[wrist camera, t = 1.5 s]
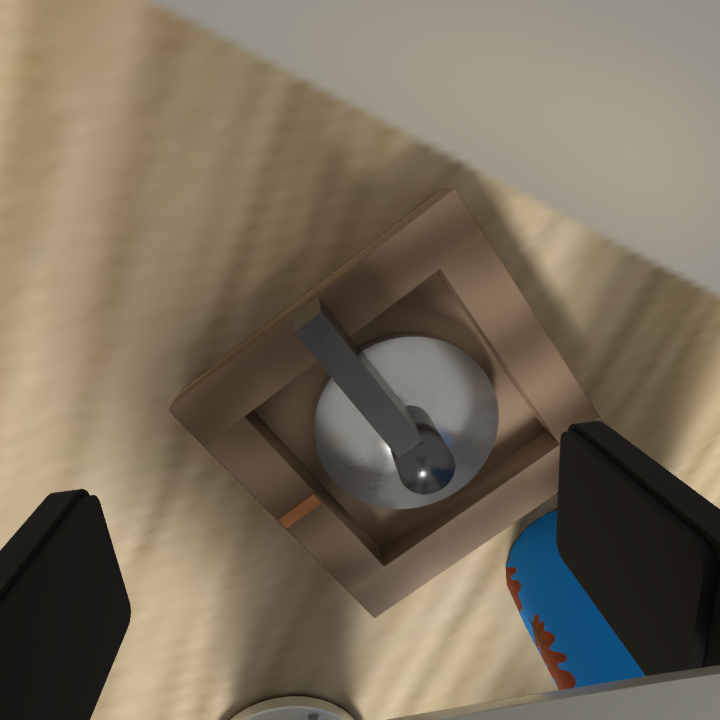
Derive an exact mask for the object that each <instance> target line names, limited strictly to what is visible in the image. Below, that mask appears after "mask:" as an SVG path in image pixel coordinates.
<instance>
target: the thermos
mask: <svg viewBox="0 0 720 720" xmlns="http://www.w3.org/2000/svg"><path fill="white" fill-rule="evenodd" d="M556 530H557V510H555V511H553V512H550V513H547V514H545V515H544V516H542V517H541V518H540V519H538V520H537V521H535V522H534V523H533V524H531V525H530V526H528V527H527V528H526V529H525V531H524V532H523V533H522V534H521V536H520V537H519V538H518V540H517V541H516V542H515V543H514V545H513V546H512V549H511V552H510V555H509V558H508V561H507V564H506V578H507V586H508V588H509V590H510V593H511V595H512V597H513V599H514V602H515V604H516V606H517V608H518V610H519V613H520V615H521V617H522V619H523V622H524V624H525V626H526V628H527V630H528V632H529V633H530V635H531V637H532V639H533V641H534V643H535V645H536V647H537V649H538V651H539V652H540V654H541V656H542V658H543V660H544V662H545V664H546V666H547V668H548V670H549V671H550V673H551V675H552V677H553V679H554V681H555V683H556V685H557V687H558V689H559V690H565V689H571V688H577V687H583V686H589V685H595V684H601V683H607V682H613V681H619V680H625V679H631V678H637V677H643V676H645V674H644V673H643V671H642V670H641V669H640V667H639V666H638V664H637V663H636V662H635V660H634V659H633V657H632V656H631V655H630V653H629V652H628V650H627V649H626V648H625V646H624V645H623V644H622V642H621V641H620V639H619V638H618V637H617V635H616V634H615V632H614V631H613V630H612V628H611V627H610V625H609V624H608V623H607V621H606V620H605V618H604V617H603V616H602V614H601V613H600V611H599V610H598V609H597V607H596V606H595V604H594V603H593V602H592V600H591V599H590V597H589V596H588V595H587V593H586V592H585V590H584V589H583V588H582V586H581V585H580V584H579V582H578V581H577V579H576V578H575V577H574V575H573V574H572V572H571V571H570V570H569V568H568V567H567V565H566V564H565V563H564V561H563V560H562V558H561V556H560V554H559V552H558V548H557V544H556Z"/></svg>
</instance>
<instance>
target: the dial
mask: <svg viewBox="0 0 720 720" xmlns="http://www.w3.org/2000/svg"><path fill="white" fill-rule="evenodd" d="M294 333H295V335H296V336H297V337H298V338H299V339H300V341H301V342H302V343H303V344H304V345H305V347H306V348H307V349H308V350H309V351H310V353H311V354H312V355H313V356H314V357H315V359H316V360H317V361H318V362H319V363H320V365H321V366H322V367H323V368H324V369H325V371H326V372H327V373H328V374H329V375H328V376H327V378H326V379H325V381H324V383H323V385H322V387H321V389H320V391H319V394H318V397H317V400H316V405H315V410H314V422H313V424H314V439H315V445H316V449H317V453H318V456H319V458H320V461H321V464H322V465H323V467H324V469H325V470H326V472H327V474H328V475H329V476H330V477H331V479H332V480H333V481H334V482H335V483H336V484H337V485H338V486H339V487H340V488H341V489H342V490H343V491H345V492H346V493H348V494H349V495H350V496H352V497H354V498H356V499H358V500H360V501H362V502H364V503H367V504H370V505H373V506H377V507H381V508H388V509H410V508H417V507H422V506H426V505H429V504H432V503H435V502H438V501H440V500H442V499H444V498H446V497H448V496H450V495H452V494H453V493H455V492H457V491H458V490H459V489H461V488H462V487H463V486H465V485H466V484H467V483H468V482H469V481H470V480H471V479H472V478H473V477H474V476H475V475H476V474H477V473H478V471H479V470H480V469H481V468H482V466H483V465H484V463H485V462H486V460H487V458H488V457H489V454H490V452H491V450H492V448H493V445H494V442H495V439H496V436H497V430H498V423H499V410H498V402H497V398H496V394H495V391H494V388H493V386H492V384H491V381H490V380H489V378H488V376H487V375H486V373H485V372H484V370H483V369H482V368H481V367H480V365H479V364H478V363H477V362H476V361H475V360H474V359H472V358H471V357H470V356H469V355H468V354H467V353H466V352H465V351H464V350H462V349H461V348H459V347H458V346H457V345H455V344H453V343H451V342H449V341H447V340H445V339H443V338H440V337H437V336H434V335H430V334H425V333H418V332H402V333H393V334H388V335H384V336H381V337H378V338H375V339H372V340H370V341H368V342H366V343H364V344H362V345H360V346H357V344H356V343H355V342H354V341H353V339H352V338H351V337H350V335H349V334H348V333H347V332H346V330H345V329H344V328H343V327H342V325H341V324H340V323H339V322H338V320H337V319H336V318H335V316H334V315H333V314H332V313H331V311H330V310H329V309H328V308H327V306H326V305H325V304H324V303H323V301H322V300H321V299H320V298H319V296H318V297H317V298H316V299H314V300H313V301H312V302H310V303H309V304H308V305H306V306H305V307H304V308H303V309H301V310H300V311H299V312H297V313H296V314H295V322H294Z"/></svg>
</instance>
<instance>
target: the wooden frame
mask: <svg viewBox="0 0 720 720" xmlns="http://www.w3.org/2000/svg"><path fill="white" fill-rule="evenodd" d="M318 296H319V298H320V299H321V300H322V301H323V303H324V304H325V305H326V306H327V308H328V309H329V310H330V311H331V313H332V314H333V315H334V316H335V318H336V319H337V320H338V322H339V323H340V324H341V325H342V327H343V328H344V329H345V330H346V332H347V333H348V334H349V335H350V337H351V338H352V339H353V341H354V342H355V343H356V344H357V346H360V345H362V344H364V343H366V342H368V341H370V340H372V339H375V338H378V337H381V336H384V335H388V334H393V333H402V332H418V333H425V334H430V335H434V336H437V337H440V338H443V339H445V340H447V341H449V342H451V343H453V344H455V345H457V346H458V347H459V348H461V349H462V350H464V351H465V352H466V353H467V354H468V355H469V356H470V357H471V358H472V359H474V360H475V361H476V362H477V363H478V364H479V365H480V367H481V368H482V369H483V370H484V372H485V373H486V375H487V376H488V378H489V380H490V381H491V384H492V386H493V388H494V391H495V394H496V398H497V402H498V410H499V423H498V430H497V436H496V439H495V442H494V445H493V448H492V450H491V452H490V454H489V457H488V458H487V460H486V462H485V463H484V465H483V466H482V468H481V469H480V470H479V471H478V473H477V474H476V475H475V476H474V477H473V478H472V479H471V480H470V481H469V482H468V483H467V484H466V485H465V486H463V487H462V488H461V489H459V490H458V491H457V492H455V493H453V494H452V495H450V496H448V497H446V498H444V499H442V500H440V501H438V502H435V503H432V504H429V505H426V506H422V507H417V508H410V509H388V508H381V507H377V506H373V505H370V504H367V503H364V502H362V501H360V500H358V499H356V498H354V497H352V496H350V495H349V494H348V493H346V492H345V491H343V490H342V489H341V488H340V487H339V486H338V485H337V484H336V483H335V482H334V481H333V480H332V479H331V477H330V476H329V475H328V474H327V472H326V470H325V469H324V467H323V465H322V464H321V461H320V458H319V456H318V453H317V449H316V445H315V439H314V424H313V422H314V410H315V405H316V400H317V397H318V394H319V391H320V389H321V387H322V385H323V383H324V381H325V379H326V378H327V376H328V375H329V374H328V373H327V372H326V371H325V369H324V368H323V367H322V366H321V365H320V363H319V362H318V361H317V360H316V359H315V357H314V356H313V355H312V354H311V353H310V351H309V350H308V349H307V348H306V347H305V345H304V344H303V343H302V342H301V341H300V339H299V338H298V337H297V336H296V335H295V333H294V322H295V314H296V313H297V312H299V311H300V310H301V309H303V308H304V307H305V306H306V305H308V304H309V303H310V302H312V301H313V300H314V299H316V298H317V297H318ZM169 411H170V412H171V413H172V414H173V415H174V416H175V417H176V418H177V419H178V420H179V422H180V423H181V424H182V425H183V426H184V427H185V428H186V429H187V430H188V431H189V432H190V433H191V434H192V435H193V436H194V437H195V438H196V439H197V440H198V441H199V442H200V443H201V444H202V445H203V446H204V447H205V448H206V449H207V450H208V451H209V452H210V453H211V454H212V455H213V456H214V457H215V458H216V459H217V460H218V461H219V462H220V463H221V464H222V465H223V466H224V467H225V468H226V469H227V470H228V471H229V472H230V473H231V474H232V475H233V476H234V477H235V478H236V479H237V480H238V481H239V482H240V483H241V484H242V485H243V486H244V487H245V488H246V489H247V490H248V491H249V492H250V493H251V494H252V495H253V496H254V497H255V498H256V499H257V500H258V501H259V502H260V503H261V504H262V505H263V506H264V507H265V508H266V509H267V510H268V511H269V512H270V513H271V514H272V515H273V516H274V517H275V518H276V519H277V520H278V521H279V522H280V523H281V524H282V525H283V526H284V527H285V528H286V529H287V530H288V531H289V532H290V533H291V534H292V535H293V536H294V537H295V538H296V539H297V541H298V542H299V543H300V544H301V545H302V546H303V547H304V548H305V549H306V550H307V551H308V552H309V553H310V554H311V555H312V556H313V557H314V558H315V559H316V560H317V561H318V562H319V563H320V564H321V565H322V566H323V567H324V568H325V569H326V570H327V571H328V572H329V573H330V574H331V575H332V576H333V577H334V578H335V579H336V580H337V581H338V582H339V583H340V584H341V585H342V586H343V587H344V588H345V589H346V590H347V591H348V592H349V593H350V594H351V595H352V596H353V597H354V598H355V599H356V600H357V601H358V602H359V603H360V604H361V605H362V606H363V607H364V608H365V609H366V610H367V611H368V612H369V613H370V614H371V615H372V616H373V617H374V618H376V617H377V616H379V615H380V614H381V613H383V612H384V611H386V610H387V609H389V608H390V607H392V606H393V605H395V604H396V603H398V602H399V601H400V600H402V599H403V598H405V597H406V596H408V595H409V594H411V593H412V592H414V591H415V590H417V589H418V588H419V587H421V586H422V585H424V584H425V583H427V582H428V581H430V580H431V579H433V578H434V577H436V576H437V575H438V574H440V573H441V572H443V571H444V570H446V569H447V568H449V567H450V566H452V565H453V564H455V563H456V562H457V561H459V560H460V559H462V558H463V557H465V556H466V555H468V554H469V553H471V552H472V551H474V550H475V549H476V548H478V547H479V546H481V545H482V544H484V543H485V542H487V541H488V540H490V539H491V538H493V537H494V536H495V535H497V534H498V533H500V532H501V531H503V530H504V529H506V528H507V527H509V526H510V525H512V524H513V523H514V522H516V521H517V520H519V519H520V518H522V517H523V516H525V515H526V514H528V513H529V512H531V511H532V510H533V509H535V508H536V507H538V506H539V505H541V504H542V503H544V502H545V501H547V500H548V499H550V498H551V497H552V496H554V495H555V494H557V493H558V482H559V458H560V438H561V435H562V433H563V432H567V430H568V428H569V426H570V425H571V424H575V423H583V422H591V421H601V422H603V421H602V420H601V418H600V416H599V415H598V413H597V412H596V410H595V409H594V407H593V405H592V404H591V402H590V401H589V399H588V397H587V396H586V394H585V393H584V391H583V390H582V388H581V386H580V385H579V383H578V382H577V380H576V379H575V377H574V375H573V374H572V372H571V371H570V369H569V367H568V366H567V364H566V363H565V361H564V360H563V358H562V356H561V355H560V353H559V352H558V350H557V349H556V347H555V345H554V344H553V342H552V341H551V339H550V337H549V336H548V334H547V333H546V331H545V330H544V328H543V326H542V325H541V323H540V322H539V320H538V319H537V317H536V315H535V314H534V312H533V311H532V309H531V307H530V306H529V304H528V303H527V301H526V300H525V298H524V296H523V295H522V293H521V292H520V290H519V289H518V287H517V285H516V284H515V282H514V281H513V279H512V277H511V276H510V274H509V273H508V271H507V270H506V268H505V266H504V265H503V263H502V262H501V260H500V259H499V257H498V255H497V254H496V252H495V251H494V249H493V247H492V246H491V244H490V243H489V241H488V240H487V238H486V236H485V235H484V233H483V232H482V230H481V229H480V227H479V225H478V224H477V222H476V221H475V219H474V217H473V216H472V214H471V213H470V211H469V210H468V208H467V206H466V205H465V203H464V202H463V200H462V199H461V197H460V195H459V194H458V192H457V191H456V189H446V190H439V191H438V192H437V193H435V194H434V195H433V196H431V197H430V198H429V199H427V200H426V201H425V202H424V203H422V204H421V205H420V206H418V207H417V208H416V209H415V210H413V211H412V212H411V213H409V214H408V215H407V216H406V217H404V218H403V219H402V220H400V221H399V222H398V223H397V224H395V225H394V226H393V227H391V228H390V229H389V230H388V231H386V232H385V233H384V234H382V235H381V236H380V237H378V238H377V239H376V240H375V241H373V242H372V243H371V244H369V245H368V246H367V247H366V248H364V249H363V250H362V251H360V252H359V253H358V254H357V255H355V256H354V257H353V258H351V259H350V260H349V261H348V262H346V263H345V264H344V265H342V266H341V267H340V268H338V269H337V270H336V271H335V272H333V273H332V274H331V275H329V276H328V277H327V278H326V279H324V280H323V281H322V282H320V283H319V284H318V285H317V286H315V287H314V288H313V289H311V290H310V291H309V292H308V293H306V294H305V295H304V296H302V297H301V298H300V299H298V300H297V301H296V302H295V303H293V304H292V305H291V306H289V307H288V308H287V309H286V310H284V311H283V312H282V313H280V314H279V315H278V316H277V317H275V318H274V319H273V320H271V321H270V322H269V323H268V324H266V325H265V326H264V327H262V328H261V329H260V330H258V331H257V332H256V333H255V334H253V335H252V336H251V337H249V338H248V339H247V340H246V341H244V342H243V343H242V344H240V345H239V346H238V347H237V348H235V349H234V350H233V351H231V352H230V353H229V354H228V355H226V356H225V357H224V358H222V359H221V360H220V361H218V362H217V363H216V364H215V365H213V366H212V367H211V368H209V369H208V370H207V371H206V372H204V373H203V374H202V375H200V376H199V377H198V378H197V379H195V380H194V381H193V382H191V383H190V384H189V385H188V386H186V387H185V388H184V389H182V390H181V392H180V393H179V395H178V396H177V398H176V399H175V401H174V402H173V404H172V405H171V407H170V408H169Z"/></svg>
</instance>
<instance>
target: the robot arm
mask: <svg viewBox="0 0 720 720" xmlns="http://www.w3.org/2000/svg"><path fill="white" fill-rule="evenodd" d="M556 544H557V548H558V552H559V554H560V556H561V558H562V560H563V561H564V563H565V564H566V565H567V567H568V568H569V570H570V571H571V572H572V574H573V575H574V577H575V578H576V579H577V581H578V582H579V584H580V585H581V586H582V588H583V589H584V590H585V592H586V593H587V595H588V596H589V597H590V599H591V600H592V602H593V603H594V604H595V606H596V607H597V609H598V610H599V611H600V613H601V614H602V616H603V617H604V618H605V620H606V621H607V623H608V624H609V625H610V627H611V628H612V630H613V631H614V632H615V634H616V635H617V637H618V638H619V639H620V641H621V642H622V644H623V645H624V646H625V648H626V649H627V650H628V652H629V653H630V655H631V656H632V657H633V659H634V660H635V662H636V663H637V664H638V666H639V667H640V669H641V670H642V671H643V673H644V674H645V676H643V677H637V678H631V679H625V680H619V681H613V682H607V683H601V684H595V685H589V686H583V687H577V688H571V689H565V690H559V691H553V692H547V693H541V694H535V695H529V696H523V697H517V698H511V699H505V700H499V701H493V702H487V703H481V704H475V705H469V706H463V707H457V708H451V709H446V710H440V711H434V712H428V713H422V714H417V715H411V716H405V717H399V718H393V719H388V720H720V509H719V508H717V507H716V506H715V505H713V504H712V503H711V502H709V501H708V500H707V499H705V498H704V497H702V496H701V495H700V494H698V493H697V492H696V491H694V490H693V489H692V488H690V487H689V486H688V485H686V484H685V483H684V482H682V481H681V480H680V479H678V478H677V477H676V476H674V475H673V474H672V473H670V472H669V471H668V470H666V469H665V468H664V467H662V466H661V465H660V464H658V463H657V462H656V461H654V460H653V459H652V458H650V457H649V456H648V455H646V454H645V453H644V452H642V451H641V450H640V449H638V448H637V447H635V446H634V445H633V444H631V443H630V442H629V441H627V440H626V439H625V438H623V437H622V436H621V435H619V434H618V433H617V432H615V431H614V430H613V429H611V428H610V427H609V426H607V425H606V424H605V423H603V422H601V421H591V422H583V423H575V424H571V425H570V426H569V428H568V430H567V432H563V433H562V435H561V438H560V458H559V482H558V506H557V530H556ZM130 617H131V607H130V602H129V599H128V595H127V592H126V588H125V585H124V582H123V578H122V575H121V572H120V568H119V565H118V561H117V558H116V555H115V551H114V548H113V545H112V541H111V538H110V534H109V531H108V528H107V524H106V521H105V518H104V514H103V511H102V508H101V504H100V501H99V499H98V498H97V496H95V495H89V493H88V492H87V491H86V490H84V489H79V490H72V491H64V492H56V493H51V494H50V495H48V496H47V497H46V498H45V500H44V501H43V502H42V503H41V504H40V505H39V506H38V508H37V509H36V510H35V511H34V512H33V513H32V515H31V516H30V517H29V518H28V519H27V520H26V522H25V523H24V524H23V525H22V526H21V527H20V528H19V530H18V531H17V532H16V533H15V534H14V535H13V537H12V538H11V539H10V540H9V541H8V542H7V544H6V545H5V546H4V547H3V548H2V549H1V550H0V720H90V718H91V716H92V713H93V711H94V709H95V706H96V704H97V701H98V699H99V696H100V694H101V692H102V689H103V687H104V684H105V682H106V679H107V677H108V675H109V672H110V670H111V667H112V665H113V662H114V660H115V658H116V655H117V653H118V650H119V648H120V645H121V643H122V641H123V638H124V636H125V633H126V631H127V628H128V626H129V623H130ZM230 720H354V718H353V717H351V716H350V715H349V714H348V713H347V712H346V711H345V710H343V709H341V708H340V707H338V706H336V705H334V704H332V703H330V702H327V701H324V700H321V699H317V698H311V697H304V696H288V697H279V698H274V699H270V700H266V701H262V702H260V703H257V704H255V705H253V706H250V707H248V708H246V709H244V710H243V711H241V712H240V713H238V714H236V715H235V716H234V717H233V718H231V719H230Z"/></svg>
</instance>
